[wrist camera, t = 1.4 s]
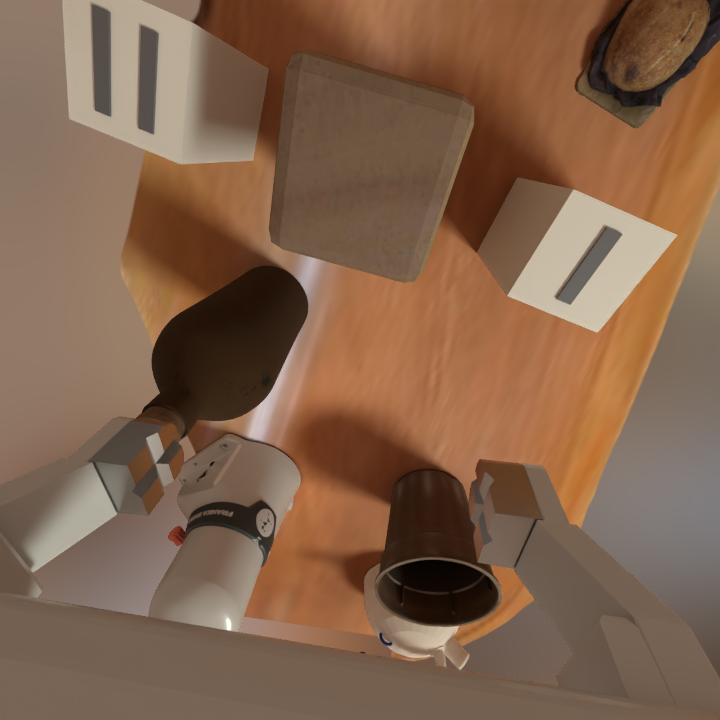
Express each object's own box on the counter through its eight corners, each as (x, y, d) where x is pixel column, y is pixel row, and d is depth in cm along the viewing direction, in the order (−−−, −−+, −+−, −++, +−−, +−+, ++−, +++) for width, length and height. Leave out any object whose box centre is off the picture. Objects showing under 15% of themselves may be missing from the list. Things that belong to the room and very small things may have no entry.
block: (345, 96, 34) (282, 38, 17) (445, 125, 34) (485, 98, 17) (325, 206, 39) (261, 248, 22) (413, 231, 39) (418, 291, 22)
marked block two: (253, 160, 38) (179, 164, 25) (179, 129, 37) (66, 118, 25) (269, 66, 33) (191, 17, 21) (186, 30, 33) (56, -43, 21)
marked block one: (540, 279, 40) (598, 333, 28) (476, 252, 40) (507, 296, 27) (588, 206, 36) (681, 233, 24) (518, 174, 36) (577, 186, 23)
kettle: (446, 618, 80) (456, 731, 64) (355, 599, 80) (343, 707, 64) (477, 570, 69) (498, 690, 54) (373, 547, 69) (364, 661, 54)
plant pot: (467, 450, 54) (488, 552, 40) (489, 517, 61) (513, 624, 47) (367, 469, 59) (355, 567, 45) (398, 529, 66) (396, 630, 52)
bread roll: (636, 134, 33) (660, 133, 30) (563, 86, 32) (580, 79, 29) (748, -9, 28) (791, -28, 25) (666, -74, 27) (700, -103, 24)
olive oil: (288, 246, 42) (161, 346, 20) (327, 324, 46) (258, 473, 25) (215, 279, 45) (40, 396, 23) (259, 349, 49) (146, 501, 28)
